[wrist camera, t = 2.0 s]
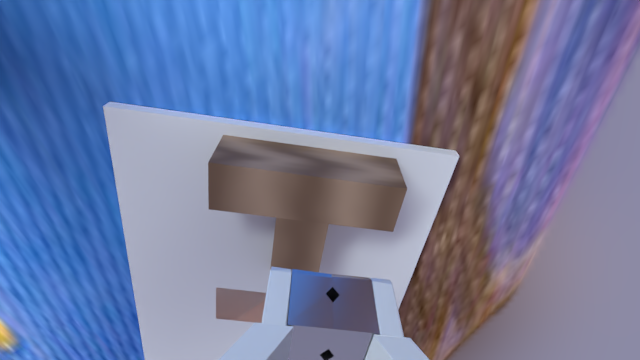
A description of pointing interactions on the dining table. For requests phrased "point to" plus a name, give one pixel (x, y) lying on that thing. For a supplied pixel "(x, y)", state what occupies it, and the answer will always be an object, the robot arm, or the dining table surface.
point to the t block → (304, 192)
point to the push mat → (238, 226)
